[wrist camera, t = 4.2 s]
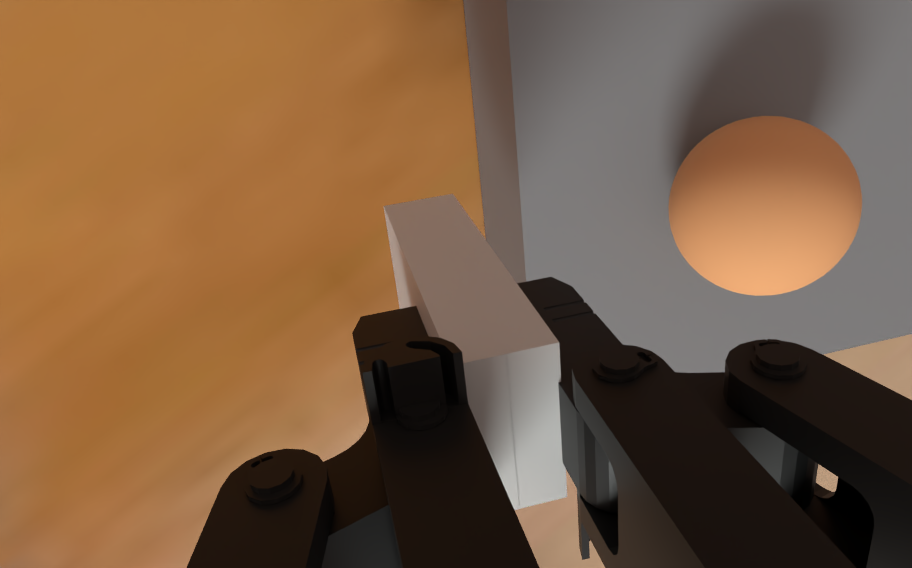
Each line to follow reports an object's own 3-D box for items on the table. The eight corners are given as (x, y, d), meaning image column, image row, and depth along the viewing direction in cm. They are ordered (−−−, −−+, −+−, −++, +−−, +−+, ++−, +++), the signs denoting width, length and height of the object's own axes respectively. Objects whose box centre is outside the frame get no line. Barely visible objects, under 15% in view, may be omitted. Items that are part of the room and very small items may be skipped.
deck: (1004, -128, 21) (1152, -141, 18) (929, 256, 26) (1031, 306, 23) (457, -60, 19) (502, -60, 15) (496, 349, 24) (535, 420, 20)
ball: (793, 88, 18) (922, 124, 14) (779, 240, 20) (891, 307, 16) (639, 113, 17) (734, 159, 14) (638, 268, 19) (722, 344, 16)
